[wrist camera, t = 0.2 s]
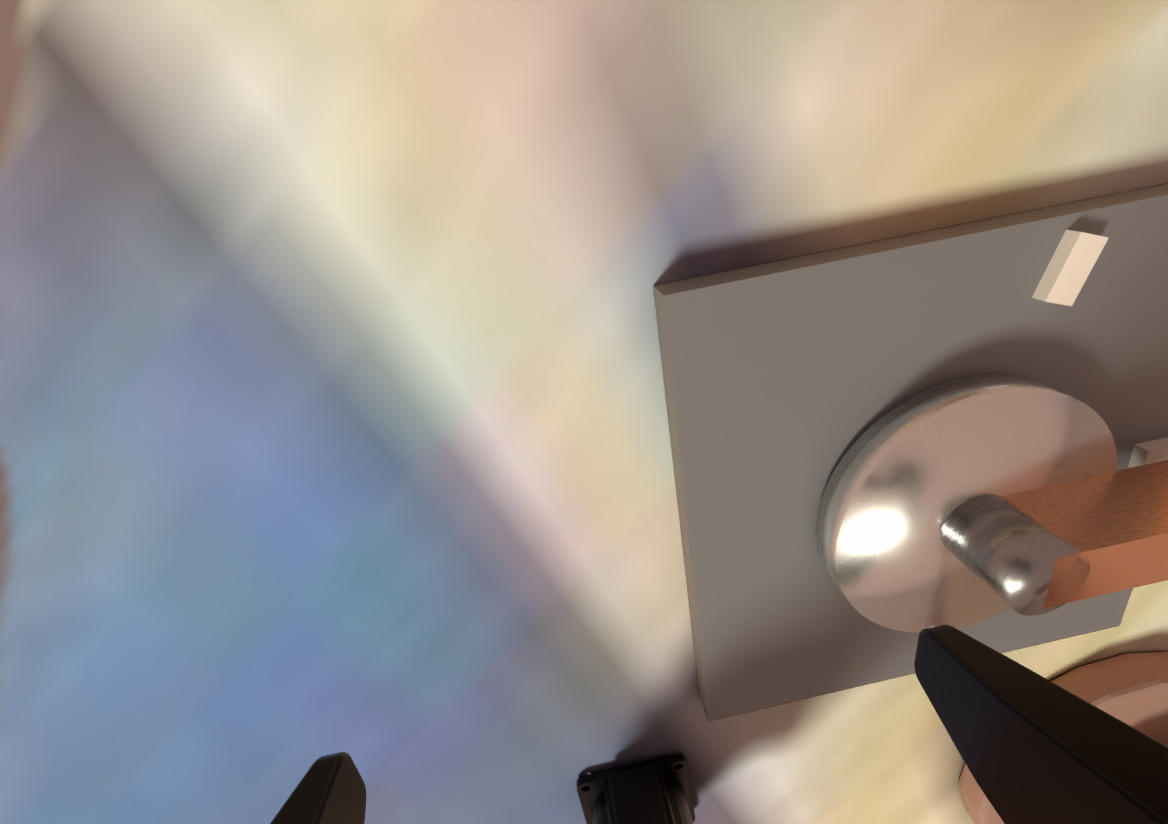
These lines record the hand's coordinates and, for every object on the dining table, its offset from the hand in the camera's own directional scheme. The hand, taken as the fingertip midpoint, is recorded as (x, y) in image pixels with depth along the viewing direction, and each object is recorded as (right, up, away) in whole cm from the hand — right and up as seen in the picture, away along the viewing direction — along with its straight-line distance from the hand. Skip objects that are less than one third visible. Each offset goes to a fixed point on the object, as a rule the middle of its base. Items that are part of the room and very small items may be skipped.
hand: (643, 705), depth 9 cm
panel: (+15, +1, +18) cm, 23 cm away
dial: (+17, +1, +16) cm, 24 cm away
